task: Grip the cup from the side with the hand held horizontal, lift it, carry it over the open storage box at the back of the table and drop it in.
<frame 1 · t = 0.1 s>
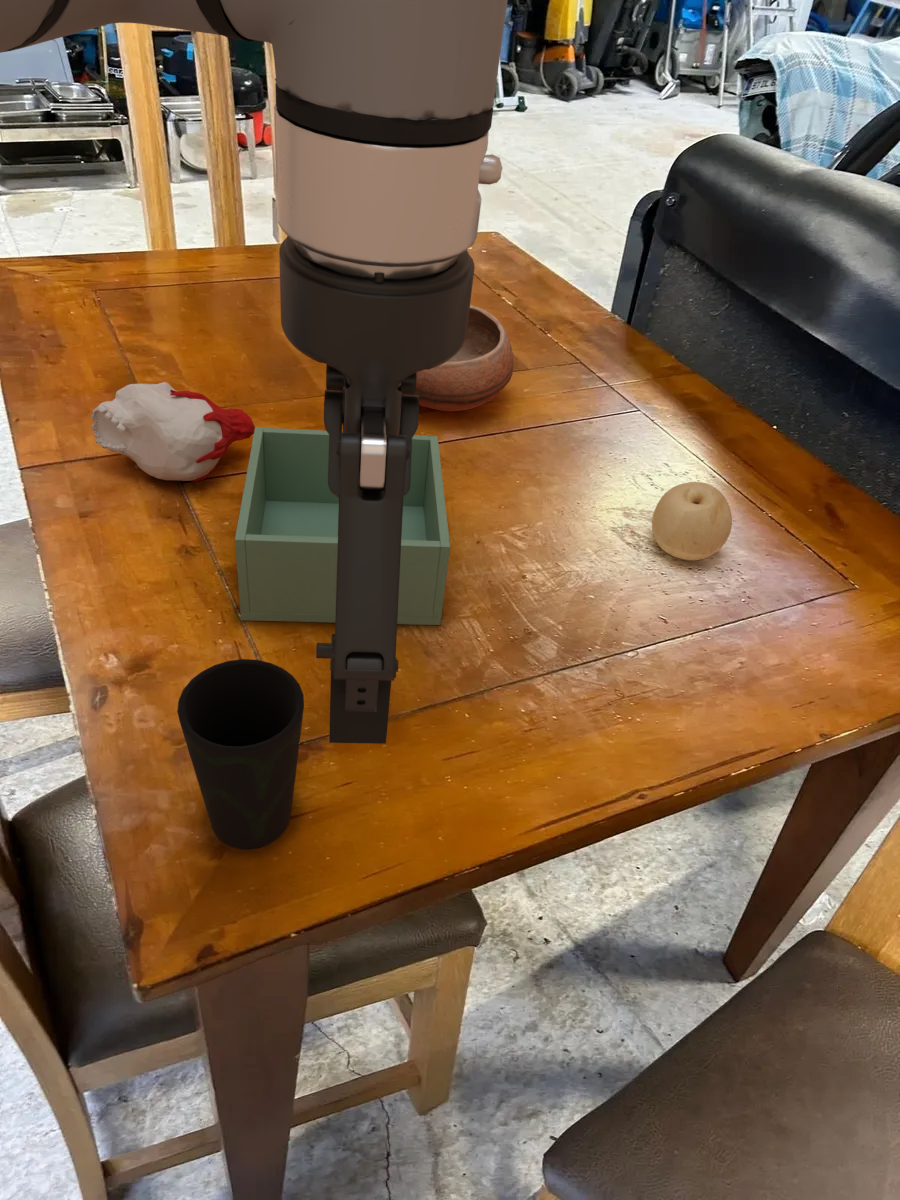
hand: (359, 639, 48), 21 cm above the table, tool pointing down, fingers open, 13 cm apart
cup: (251, 817, 63), on the table
open storage box: (343, 560, 85), on the table
apple: (681, 548, 92), on the table
bowl: (444, 399, 111), on the table
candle: (186, 468, 94), on the table
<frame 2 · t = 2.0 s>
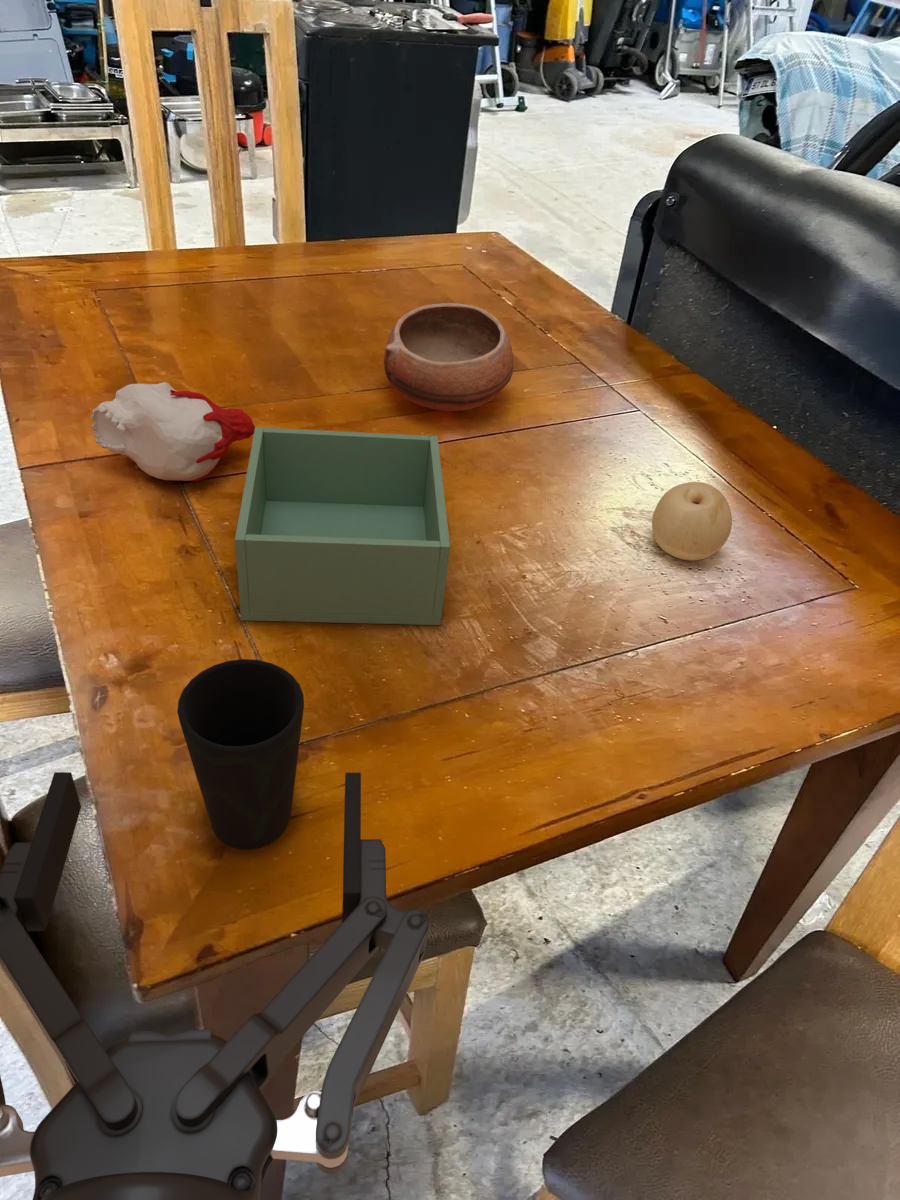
hand: (213, 788, 43), 18 cm above the table, tool horizontal, fingers open, 13 cm apart
nothing on the table moved.
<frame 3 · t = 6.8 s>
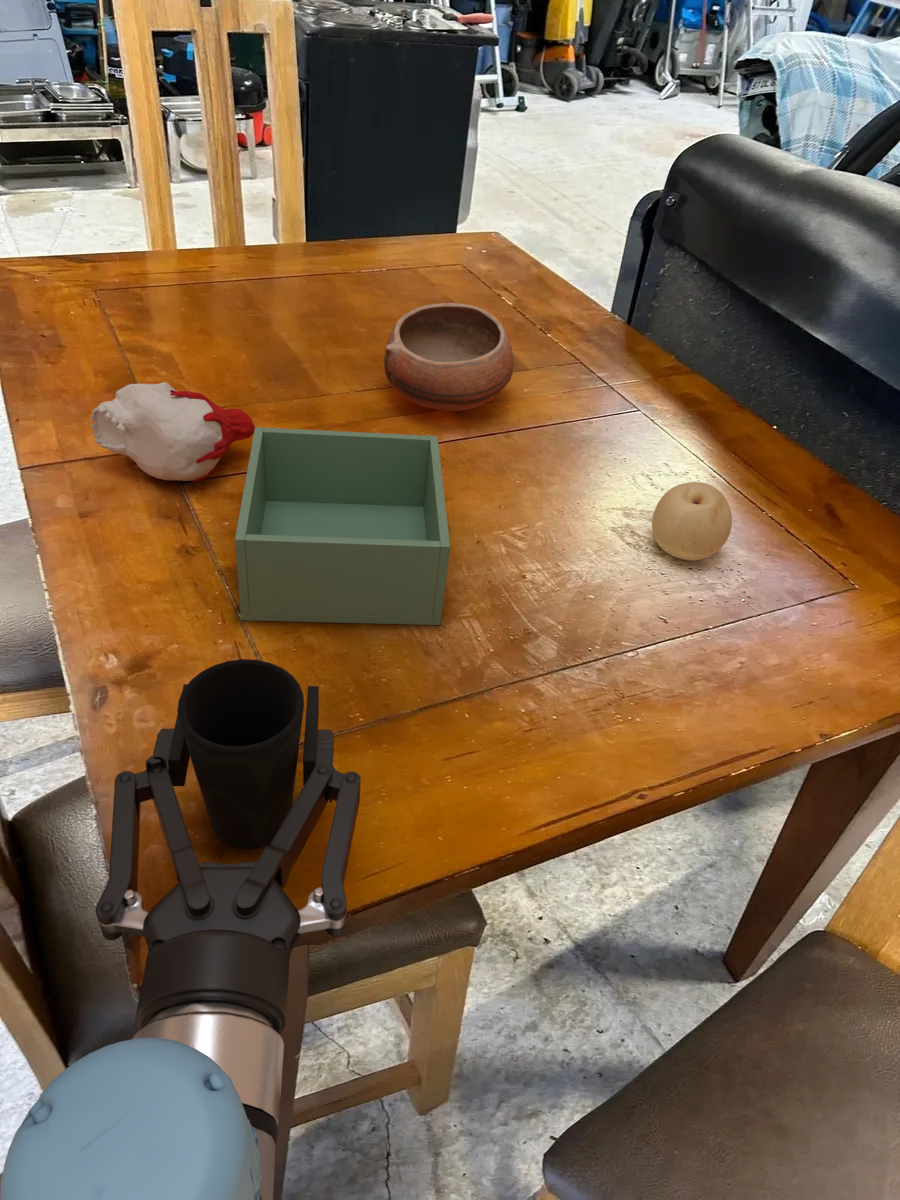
hand: (252, 698, 62), 7 cm above the table, tool horizontal, fingers closed on cup, 8 cm apart
cup: (251, 817, 63), on the table, touching gripper
everything else where it was.
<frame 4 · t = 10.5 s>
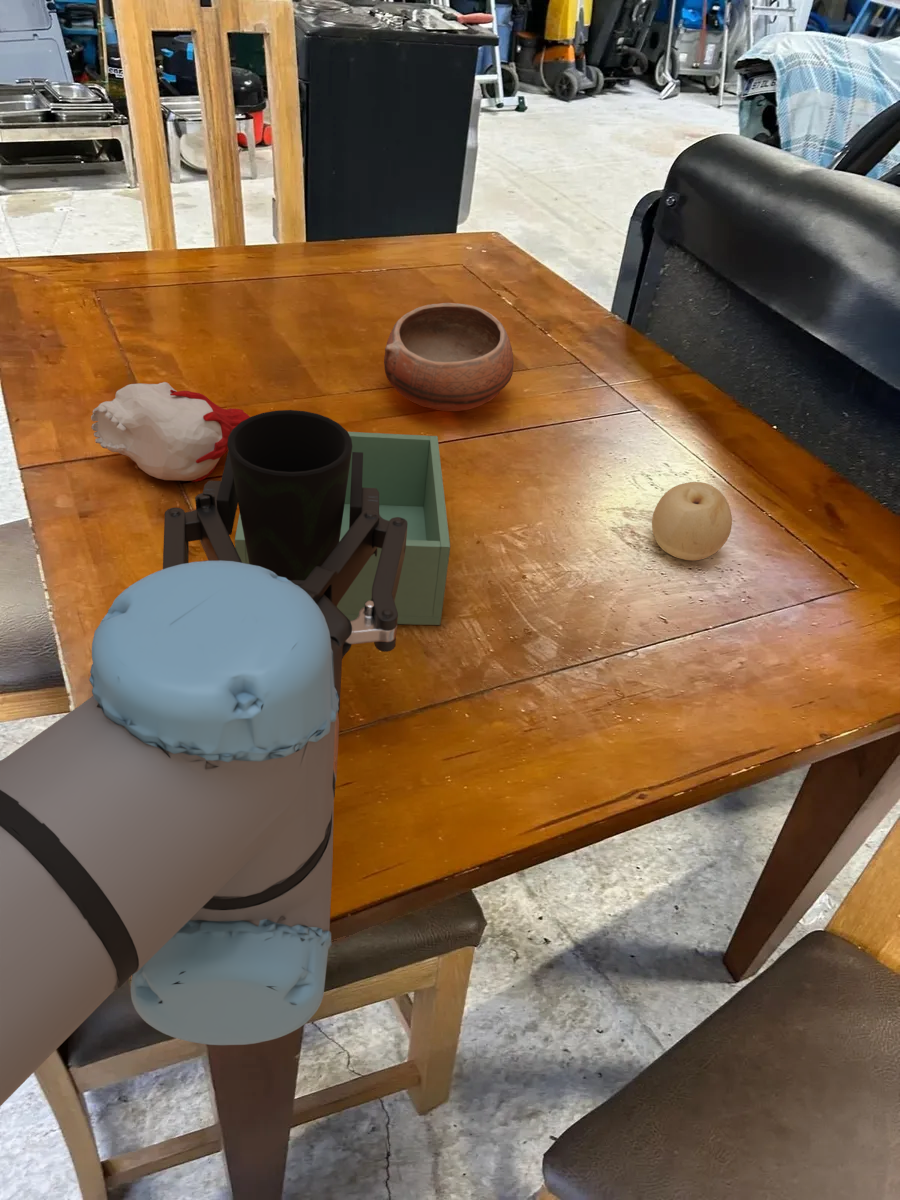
hand: (297, 465, 62), 19 cm above the table, tool horizontal, fingers closed on cup, 8 cm apart
cup: (293, 588, 63), point 12 cm above the table, touching gripper
everything else where it was.
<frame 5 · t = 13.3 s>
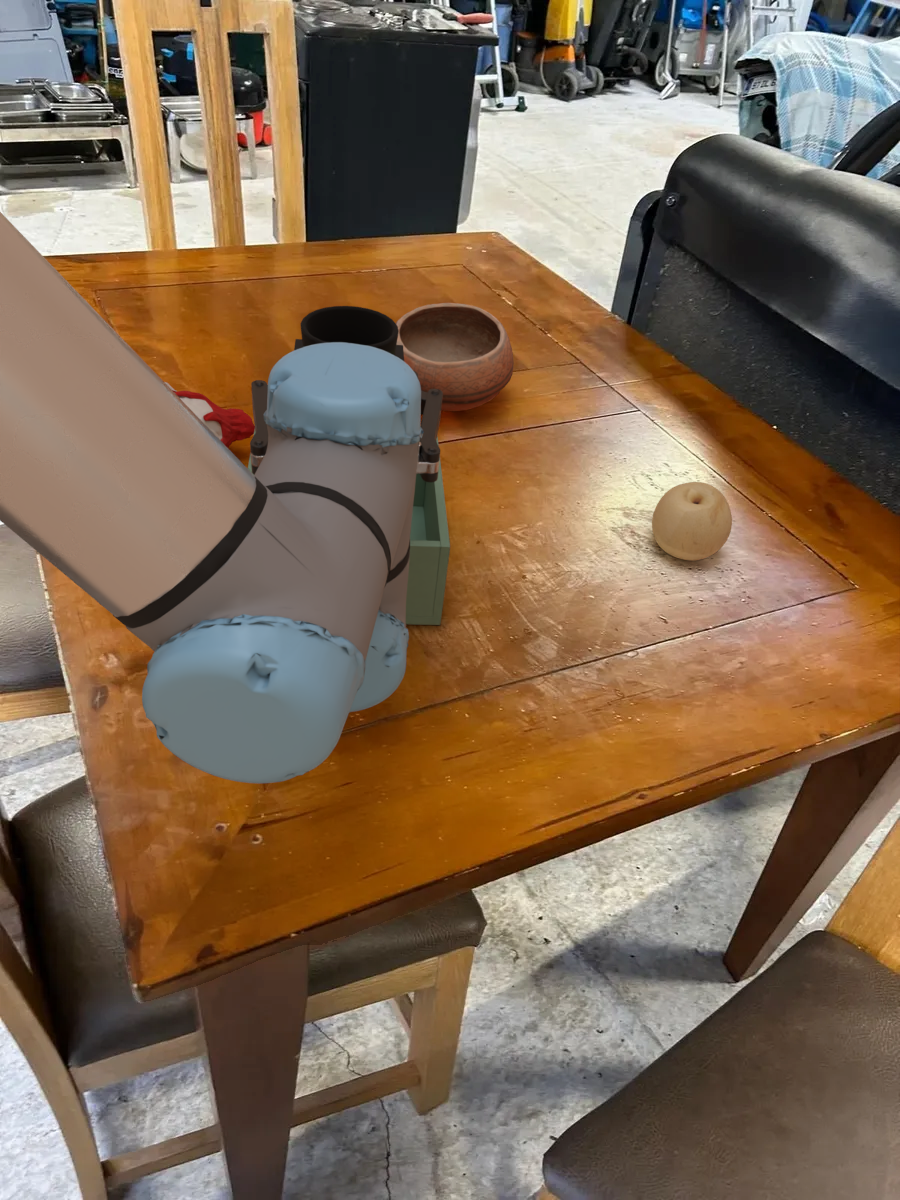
hand: (349, 356, 76), 19 cm above the table, tool horizontal, fingers closed on cup, 8 cm apart
cup: (346, 458, 77), point 12 cm above the table, touching gripper
everything else where it was.
when the fingers open (16 cm above the table, at t = 14.5 s): cup drops 7 cm, resting on open storage box.
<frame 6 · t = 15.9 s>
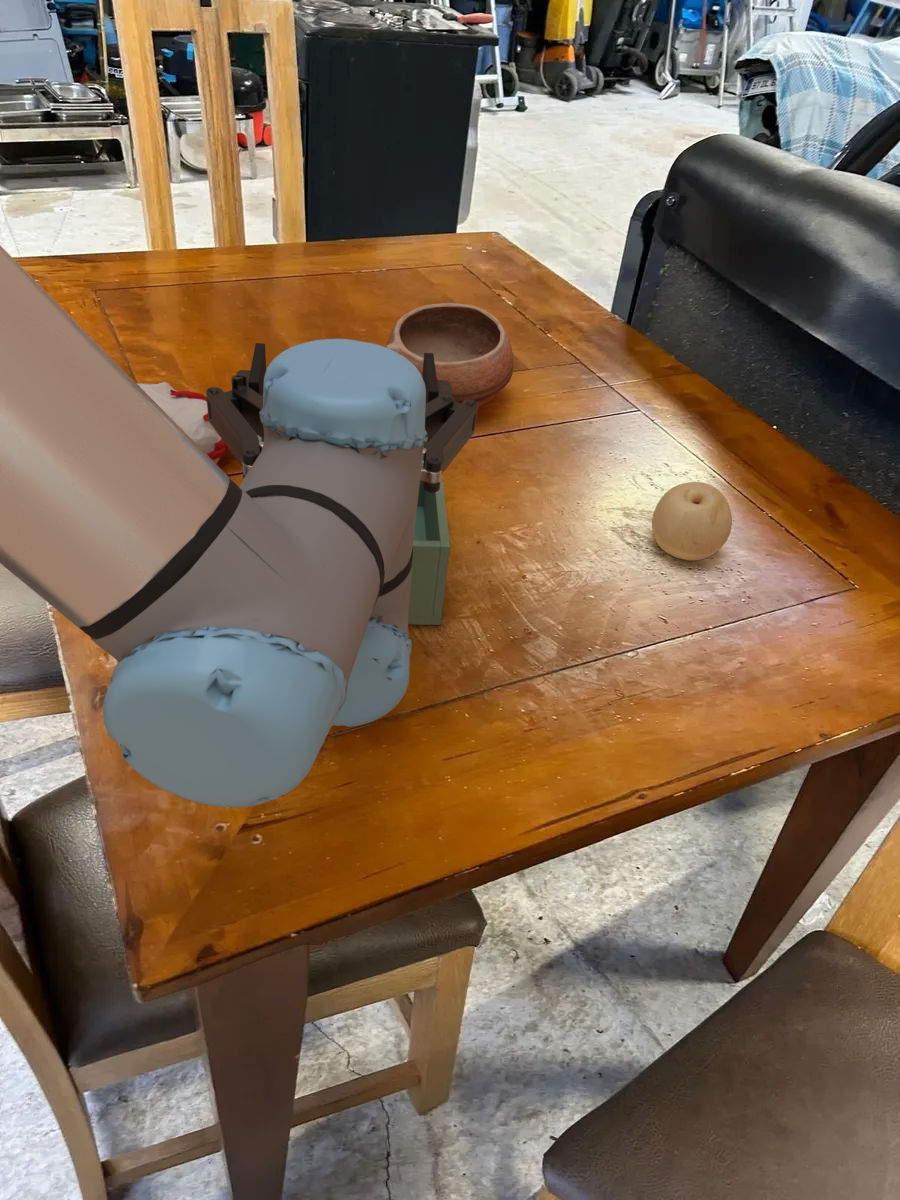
hand: (345, 363, 73), 20 cm above the table, tool horizontal, fingers open, 13 cm apart
cup: (340, 550, 84), point 1 cm above the table, touching open storage box
everything else where it was.
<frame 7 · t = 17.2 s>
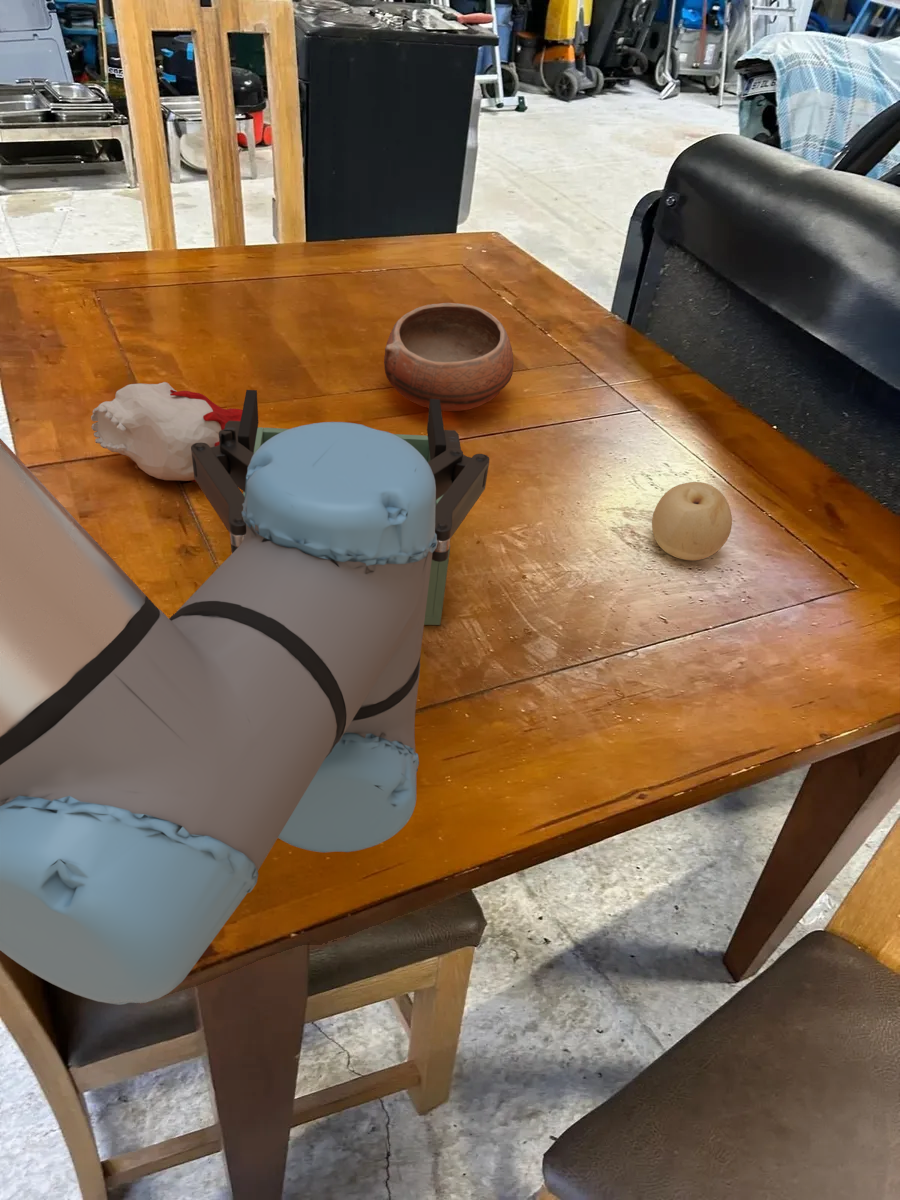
hand: (344, 410, 67), 20 cm above the table, tool horizontal, fingers open, 13 cm apart
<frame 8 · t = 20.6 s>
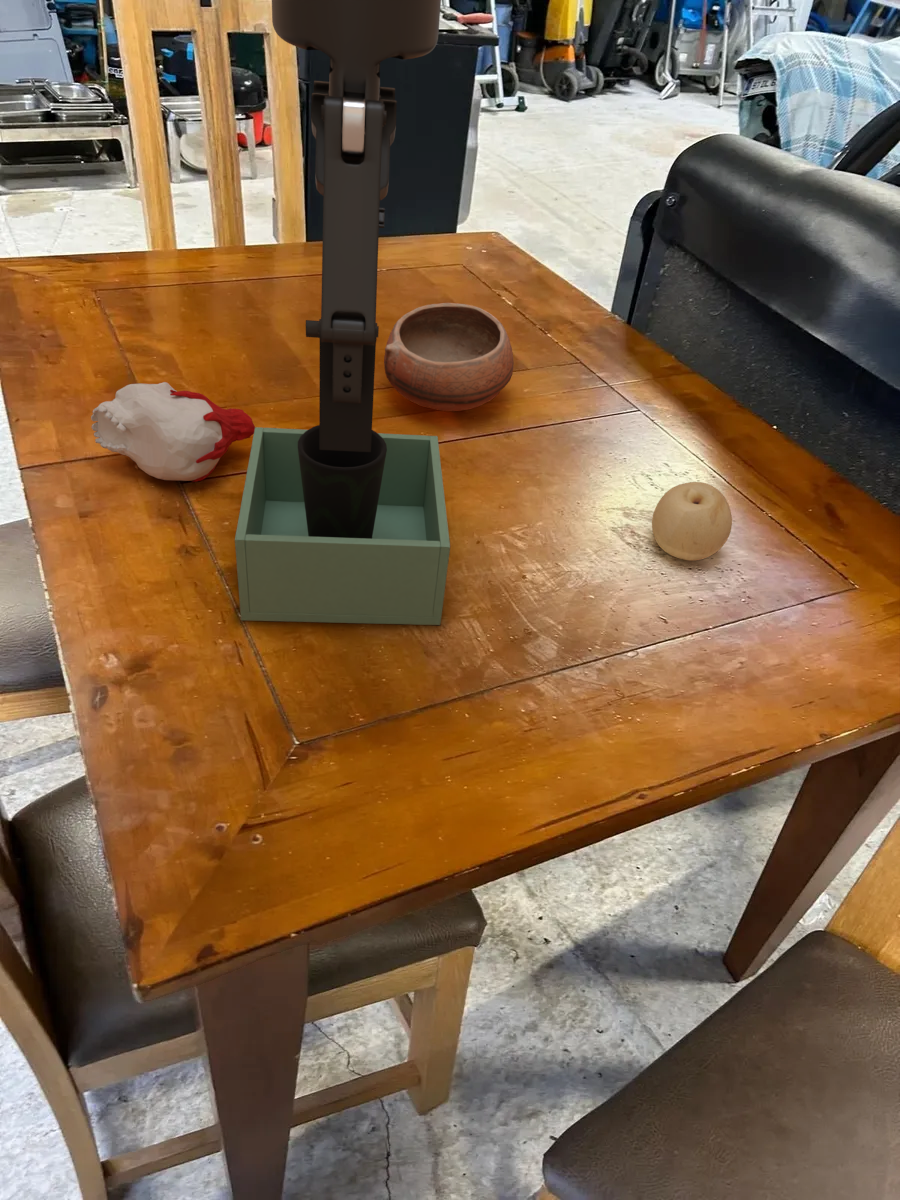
hand: (347, 386, 52), 29 cm above the table, tool pointing down, fingers open, 13 cm apart
at the end: cup inside the target area in the open storage box (0.4 cm from its centre), point 0.8 cm above the open storage box's base; the gripper is holding nothing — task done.
